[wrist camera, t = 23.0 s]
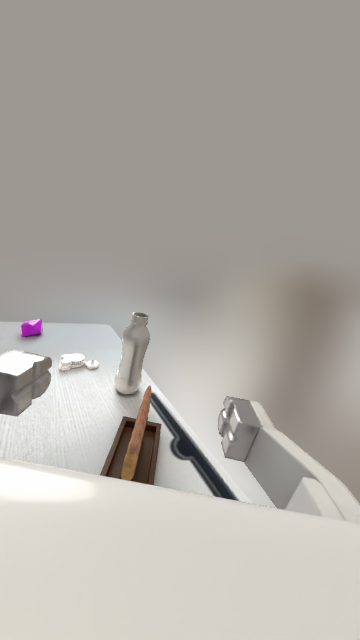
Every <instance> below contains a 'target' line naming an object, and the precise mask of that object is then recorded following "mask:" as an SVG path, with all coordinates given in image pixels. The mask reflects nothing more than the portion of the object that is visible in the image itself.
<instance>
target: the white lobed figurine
mask: <svg viewBox="0 0 360 640" xmlns="http://www.w3.org/2000/svg"><path fill="white" fill-rule="evenodd" d="M84 359H85V356H84V355H82V354H71V355H67V354H64V355H62V358H61V359H60V362H59V364H60V366H59V370H62V371H67V370H70V369H71V368H78V367H81V366H83V365H84V364H86V367H87V368H88V369H96V368H98V366H99V362H97V361H95V359H91V361H88V362H84Z"/></svg>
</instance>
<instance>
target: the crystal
mask: <svg viewBox="0 0 360 640" xmlns="http://www.w3.org/2000/svg"><path fill="white" fill-rule="evenodd" d="M21 327H22V337H25V336H30V335H36V334H41V333H42V331H43V328H42V320H41V319H37V320H31V321H25V322H24V323H23V324H22V326H21Z"/></svg>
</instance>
